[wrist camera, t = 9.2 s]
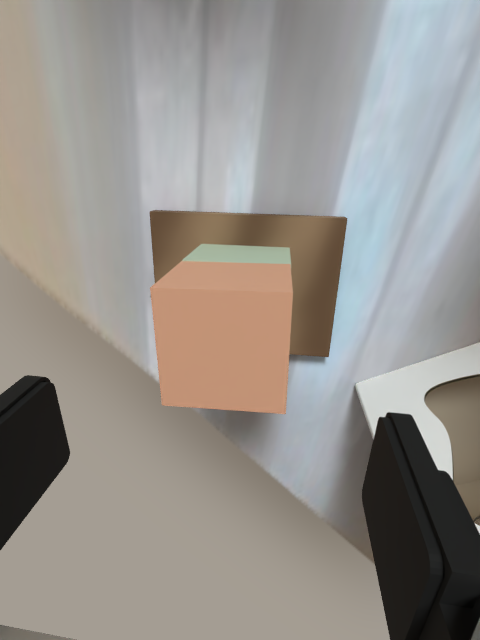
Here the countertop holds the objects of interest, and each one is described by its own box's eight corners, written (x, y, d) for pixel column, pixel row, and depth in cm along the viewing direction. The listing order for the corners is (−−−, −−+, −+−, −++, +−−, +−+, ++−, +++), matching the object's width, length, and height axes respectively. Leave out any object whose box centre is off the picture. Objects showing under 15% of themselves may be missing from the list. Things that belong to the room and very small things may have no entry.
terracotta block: (290, 263, 19) (292, 292, 14) (284, 362, 21) (285, 414, 17) (181, 261, 19) (150, 287, 15) (187, 356, 22) (162, 405, 17)
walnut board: (344, 216, 23) (347, 218, 22) (327, 350, 27) (328, 357, 26) (154, 210, 24) (149, 211, 24) (163, 339, 28) (159, 344, 27)
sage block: (289, 247, 23) (291, 265, 19) (283, 329, 26) (283, 362, 21) (201, 243, 24) (182, 259, 19) (202, 324, 26) (186, 355, 22)
